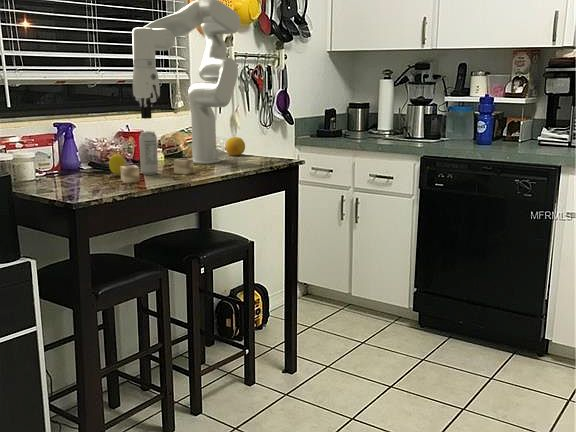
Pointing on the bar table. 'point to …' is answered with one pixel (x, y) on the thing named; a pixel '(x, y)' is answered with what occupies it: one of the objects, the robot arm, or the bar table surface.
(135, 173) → the maple block
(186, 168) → the maple block
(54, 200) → the bar table surface
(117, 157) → the lemon
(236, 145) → the fruit
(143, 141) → the energy drink can
